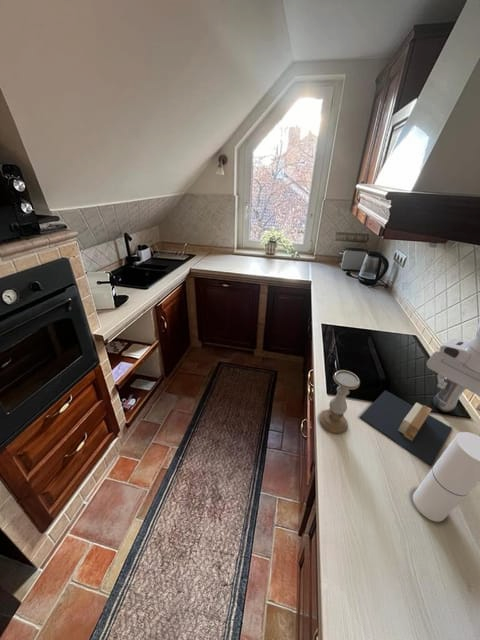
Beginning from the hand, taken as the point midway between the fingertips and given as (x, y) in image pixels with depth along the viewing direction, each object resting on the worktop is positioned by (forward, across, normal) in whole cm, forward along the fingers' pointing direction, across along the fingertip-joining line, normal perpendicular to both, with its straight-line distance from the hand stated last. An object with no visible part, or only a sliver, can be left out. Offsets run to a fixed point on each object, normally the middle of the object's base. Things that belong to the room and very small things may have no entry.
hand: (459, 398), depth 70 cm
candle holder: (+20, +21, +21) cm, 36 cm away
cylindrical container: (+21, -9, +19) cm, 29 cm away
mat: (+20, +8, 0) cm, 22 cm away
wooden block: (+20, +6, -1) cm, 21 cm away
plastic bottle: (+21, +5, -19) cm, 29 cm away
